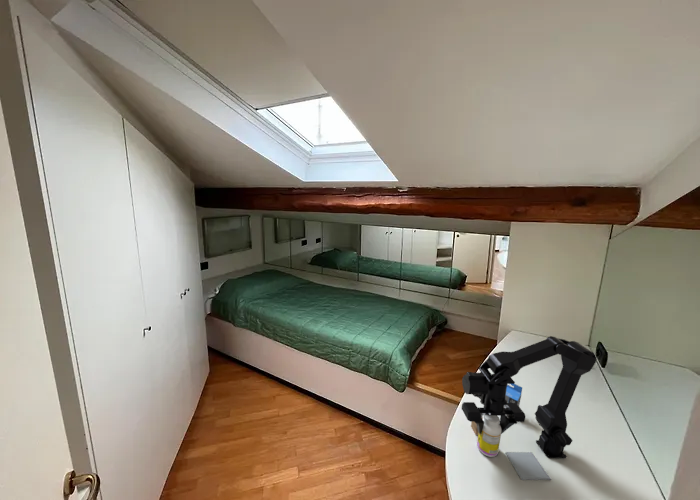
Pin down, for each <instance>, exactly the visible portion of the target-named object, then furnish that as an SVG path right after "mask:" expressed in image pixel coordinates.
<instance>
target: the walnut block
mask: <svg viewBox="0 0 700 500" xmlns="http://www.w3.org/2000/svg"><path fill="white" fill-rule="evenodd" d="M483 418H484V416H482V419H483ZM470 422H471V423H470V427H471V429H472V431H473V433H474V435H475V436H478V429H477V426H476V423H475V422H474V421H470Z"/></svg>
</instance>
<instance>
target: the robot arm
mask: <svg viewBox="0 0 700 500" xmlns="http://www.w3.org/2000/svg"><path fill="white" fill-rule="evenodd" d="M557 355H560V358H561V363H562V368H561V370H560V372H559V376H558V378H557V380H556V383H555V386H554V388H553V390H552V392H551V395H550V398H549V399H548V402H547V403H546V404H544V405H540V404H539V405H538V406H537V409H536V411H535V412H534V415H535V420H536V422H537V423H538V425H539V426H540V427H541V428H542V430H541V432H540V435H539V439H536V440H535V443H536V444H537V445H538V447H539V448H540V449H541V451H542V452H543V454H544V455H545V457H546V458H548V459H567V457H568V456H567V455H566V454H565V453H564V449H565V448H566V446H570V445H571V444H572V443H573V439H572V438H571V436H570V435H569V434H568V433H567V427H568V420H567V416H566V415H567V414H566V412H567V410H568V407H569V406H570V403H571V401H572V398H573V396H574V394H575V391H576V388H577V386H578V384H579V381H580V379H581V377H582V376H583V375H585V374H587V373H590V372H591V371H592V370H593V367H594V366H595V364H596V362H597V359H598V358H597V356H596V354H595V352H593V351H592V350H590V349H589V348H587V347H585V346H584V345H582V344H581V343H580V342H578V341H575V340H572V341H569V340H566V339H563V338H559V337H557V336H554V335H553V336H552V335H550V336H548V337H546V338H545V339H544V340H541V341H538V342H535V343H533V344H530V345H528V346H524V347H523V348H522V347H521V348H520V349H517V350H515V351H499V352H494V353H492V354H489V356H488V358H486V360H485V361H483V363H482V364H481V365H480V366H479V367H478V370H479V371H480V372H472V371H467V372H466V374H464V375H463V377H462V378H461V379H462V382H461V383H462V384H461V385H462V389H463V391H464V394H466V395H472V396H474V397H476V398H478V399H479V400H480V402H479V403H480V404H481V405H483V407H478V406H477V404H476V403H475V402H473V401H469V402H468V401H466V402H462V404H461V411H462V413H463V414H464V416H465V418H466V420H467V421H469V422H472V421H474V422H475V423H476V426H477V429H478V433H479V434H481V432H482V429H483V426H484V421H483V419H482V417H484V415H494V416H498V417H499V416H500V417H499V419H500V422H499V424H500V426H501V429H502V431H501V435H502V434H504V433H505V432H506V431H507V430H508V429H510V428H511V427H512V426H513V425H516V424H517V423H524V422H526V413H525V412H524V411H523V410H522V408H521V407H520V405H519V406H518V405H517V404H516V403H507V401H506V399H505V396H506V390H507V385H511V384H516V382H515V380H514V379H513V378H512V377H514V376H516V375H517V374H518V373H519V372H520V370H521V369H522V368H524V367H527V366H531V365H533V364H535V363H538V362H541V361H543V360H546V359H550V358H551V357H553V356H557ZM489 369H490V370H491V371H489ZM491 372H492V373H491Z"/></svg>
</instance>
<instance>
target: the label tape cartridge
mask: <svg viewBox="0 0 700 500" xmlns="http://www.w3.org/2000/svg"><path fill="white" fill-rule="evenodd" d="M522 391H523V387H522V386H520V385H518V384H516V383H514V384H507V390H506V396H505V399H506V401H507V403H516V404H517V405H518V406H519V407H520V404H521V399H522V393H523V392H522Z"/></svg>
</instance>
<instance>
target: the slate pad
mask: <svg viewBox="0 0 700 500" xmlns="http://www.w3.org/2000/svg"><path fill="white" fill-rule="evenodd" d="M505 455H506V457H507V458H508V460H509V462H510V463H511V465H512V466H513V468H514V470H515V472H516V474H517V475H518V476H519V478H520V480H523V481H530V480H531V481H551V477H550V475H549V473H547V471H546V470H545V468H544V467H543V466H542V464H541V462H540V461H539V460H538V458H537V457H536V455H535V454H534V453H533V452H532V451H505Z"/></svg>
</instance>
